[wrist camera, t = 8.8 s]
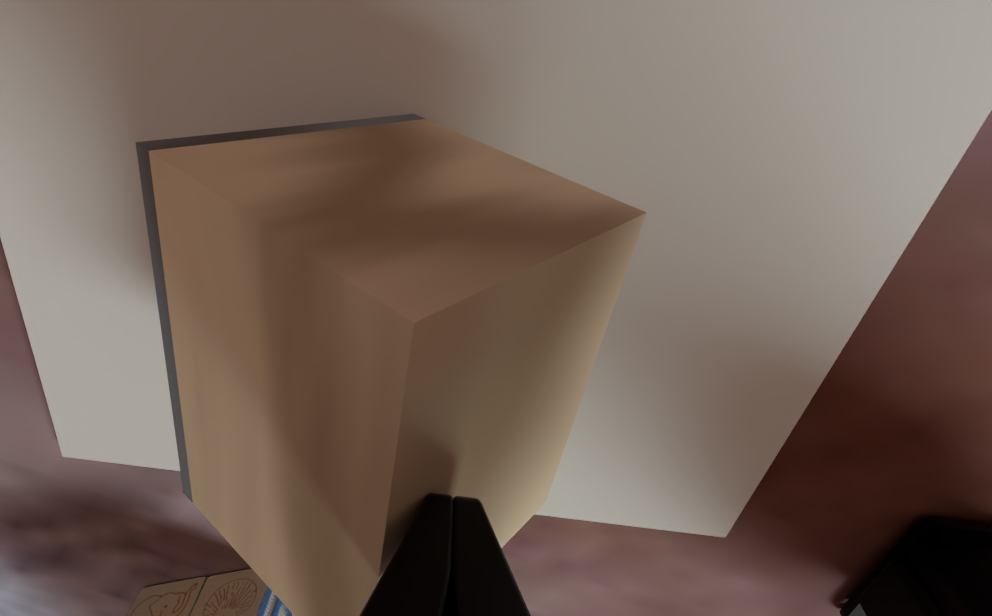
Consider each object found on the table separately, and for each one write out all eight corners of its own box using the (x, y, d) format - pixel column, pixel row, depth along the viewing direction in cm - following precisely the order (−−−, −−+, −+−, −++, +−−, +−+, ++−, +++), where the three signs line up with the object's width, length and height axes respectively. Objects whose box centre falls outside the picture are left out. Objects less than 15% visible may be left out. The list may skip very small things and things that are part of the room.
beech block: (413, 322, 6) (135, 142, 9) (362, 691, 10) (183, 492, 13) (647, 212, 11) (413, 113, 13) (545, 502, 15) (382, 382, 17)
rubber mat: (1049, -12, 12) (1066, -11, 12) (721, 528, 22) (725, 537, 21) (-131, -296, 10) (-153, -304, 10) (69, 447, 19) (62, 456, 19)
